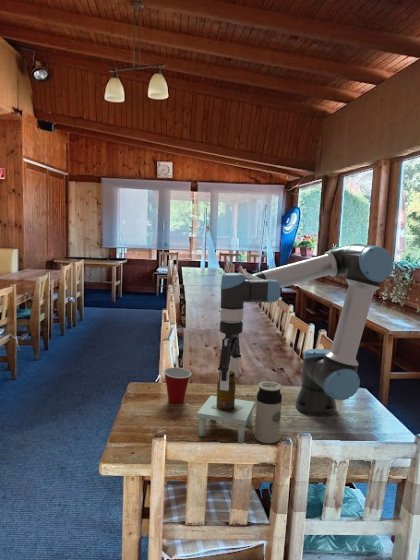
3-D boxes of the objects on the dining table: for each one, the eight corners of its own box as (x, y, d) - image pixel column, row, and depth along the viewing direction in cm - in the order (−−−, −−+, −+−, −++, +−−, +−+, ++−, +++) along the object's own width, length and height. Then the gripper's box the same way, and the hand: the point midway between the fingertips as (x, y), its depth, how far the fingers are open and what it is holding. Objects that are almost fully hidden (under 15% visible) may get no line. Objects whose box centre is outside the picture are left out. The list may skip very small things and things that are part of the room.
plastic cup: (186, 408, 167) (187, 377, 166) (159, 404, 169) (160, 374, 168) (193, 397, 178) (194, 368, 176) (167, 394, 180) (168, 365, 179)
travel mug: (250, 434, 148) (253, 382, 146) (270, 431, 152) (273, 379, 149) (262, 445, 141) (266, 391, 139) (283, 441, 144) (287, 388, 142)
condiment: (222, 401, 155) (224, 367, 154) (243, 407, 150) (245, 373, 149) (210, 407, 149) (212, 373, 148) (232, 414, 144) (234, 378, 143)
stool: (253, 423, 156) (255, 401, 155) (244, 444, 141) (245, 420, 140) (209, 416, 161) (210, 395, 160) (196, 436, 146) (197, 412, 145)
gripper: (229, 312, 159) (227, 369, 162) (209, 327, 135) (207, 394, 138) (249, 314, 157) (247, 372, 160) (234, 329, 133) (231, 397, 136)
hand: (229, 382), depth 149 cm, fingers open, 13 cm apart
